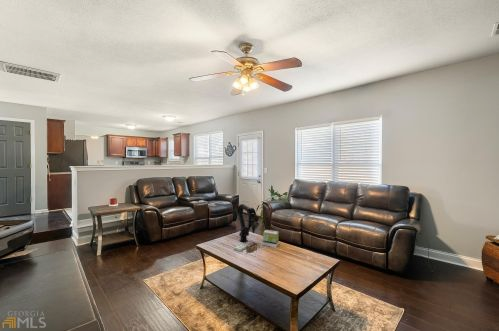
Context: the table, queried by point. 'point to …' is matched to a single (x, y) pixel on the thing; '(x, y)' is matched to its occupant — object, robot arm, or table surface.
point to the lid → (240, 247)
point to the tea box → (270, 238)
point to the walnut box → (251, 248)
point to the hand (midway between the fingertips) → (250, 234)
